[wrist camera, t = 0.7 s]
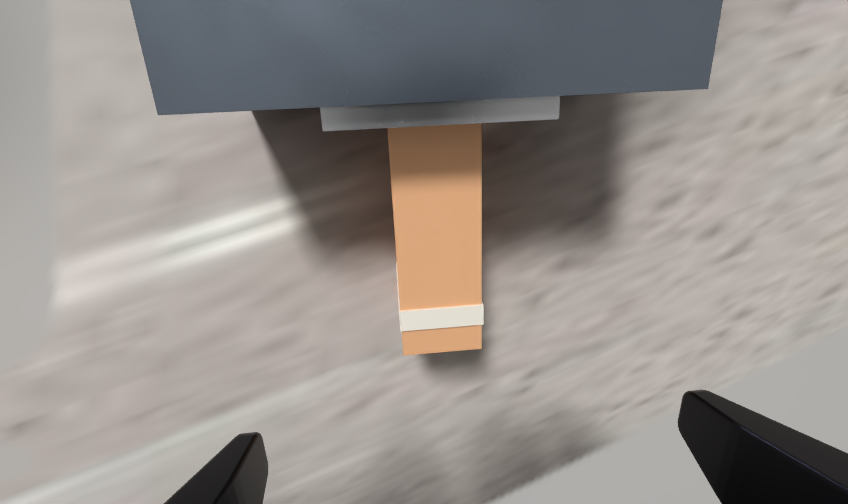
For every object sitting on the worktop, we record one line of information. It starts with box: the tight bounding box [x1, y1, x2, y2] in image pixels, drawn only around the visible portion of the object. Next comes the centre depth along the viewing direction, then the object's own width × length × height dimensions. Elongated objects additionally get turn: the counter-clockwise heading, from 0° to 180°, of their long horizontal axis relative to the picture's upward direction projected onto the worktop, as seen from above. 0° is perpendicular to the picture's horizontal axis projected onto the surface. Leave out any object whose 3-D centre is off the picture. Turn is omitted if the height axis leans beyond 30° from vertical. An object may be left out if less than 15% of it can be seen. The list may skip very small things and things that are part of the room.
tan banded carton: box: [387, 123, 484, 355], centre depth 16 cm, size 14×3×5 cm, turn 2°
